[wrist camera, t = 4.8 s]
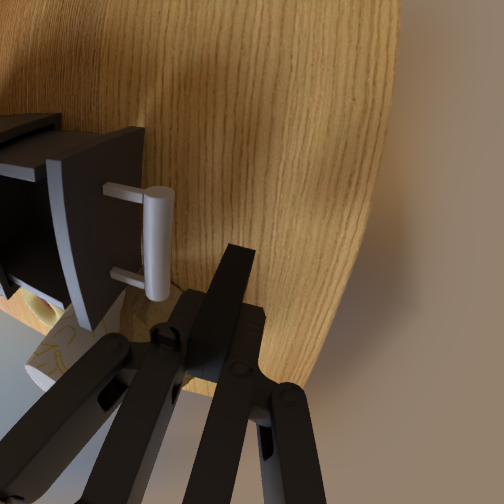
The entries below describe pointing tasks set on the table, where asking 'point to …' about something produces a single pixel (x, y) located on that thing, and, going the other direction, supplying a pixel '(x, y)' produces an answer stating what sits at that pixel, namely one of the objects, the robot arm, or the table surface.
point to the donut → (43, 308)
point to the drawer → (82, 219)
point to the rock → (145, 314)
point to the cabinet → (9, 129)
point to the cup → (69, 344)
